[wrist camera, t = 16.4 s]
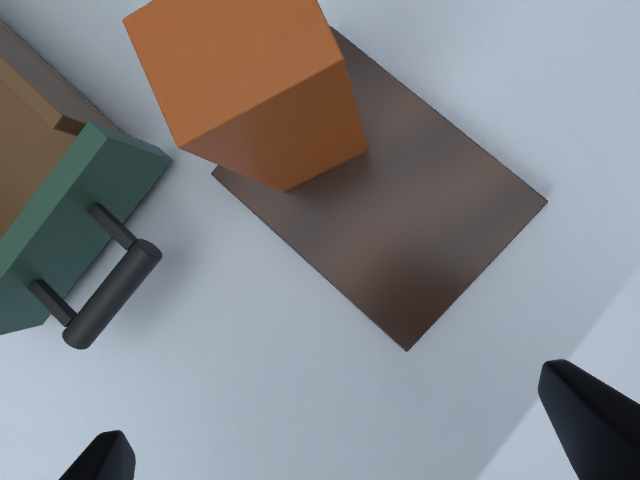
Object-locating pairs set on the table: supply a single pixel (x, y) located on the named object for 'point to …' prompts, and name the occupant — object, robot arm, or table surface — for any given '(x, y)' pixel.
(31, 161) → the drawer
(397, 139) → the board
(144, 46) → the orange rectangular prism
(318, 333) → the table surface
